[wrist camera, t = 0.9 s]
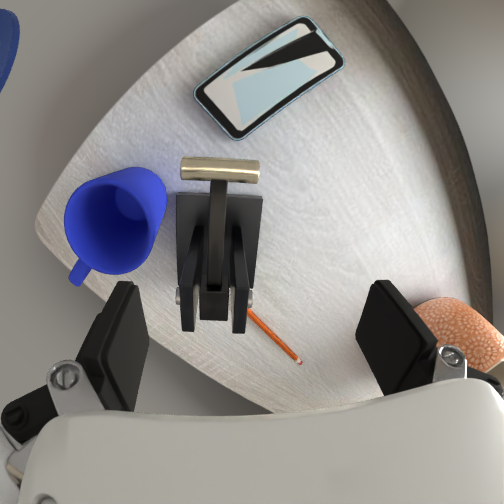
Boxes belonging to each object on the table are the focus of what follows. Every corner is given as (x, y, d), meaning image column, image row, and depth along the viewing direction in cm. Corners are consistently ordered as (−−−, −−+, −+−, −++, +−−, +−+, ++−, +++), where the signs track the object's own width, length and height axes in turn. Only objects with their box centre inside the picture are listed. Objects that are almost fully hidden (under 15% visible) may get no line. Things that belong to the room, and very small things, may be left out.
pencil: (298, 362, 42) (299, 365, 42) (227, 293, 35) (227, 297, 35) (302, 360, 42) (303, 363, 42) (232, 290, 35) (232, 293, 34)
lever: (185, 154, 18) (179, 158, 16) (257, 158, 19) (261, 163, 17) (185, 301, 23) (182, 319, 21) (243, 303, 24) (245, 321, 22)
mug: (79, 223, 29) (36, 263, 20) (134, 143, 26) (94, 156, 17) (129, 265, 32) (101, 315, 23) (190, 192, 29) (174, 226, 20)
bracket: (177, 192, 29) (147, 241, 18) (261, 196, 30) (284, 247, 19) (179, 280, 34) (162, 357, 22) (252, 283, 35) (264, 361, 23)
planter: (459, 258, 37) (534, 327, 20) (455, 334, 46) (501, 396, 29) (356, 318, 39) (411, 421, 22) (374, 382, 48) (408, 458, 31)
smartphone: (188, 92, 24) (305, 12, 20) (189, 93, 25) (303, 15, 21) (236, 145, 27) (349, 64, 23) (236, 144, 27) (346, 65, 24)
